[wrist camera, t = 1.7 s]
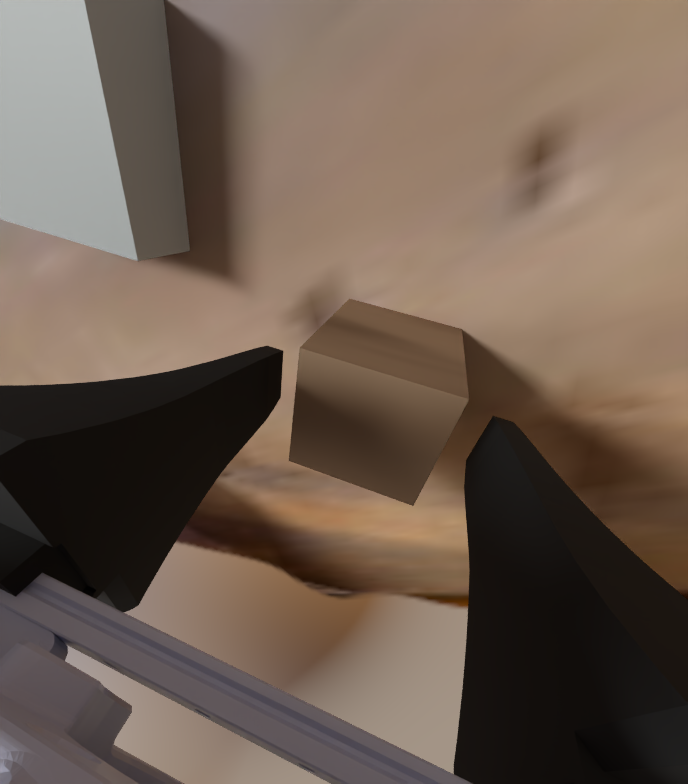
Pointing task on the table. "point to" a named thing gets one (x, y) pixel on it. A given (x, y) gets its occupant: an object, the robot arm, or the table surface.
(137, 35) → the grey block
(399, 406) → the walnut block
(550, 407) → the table surface
